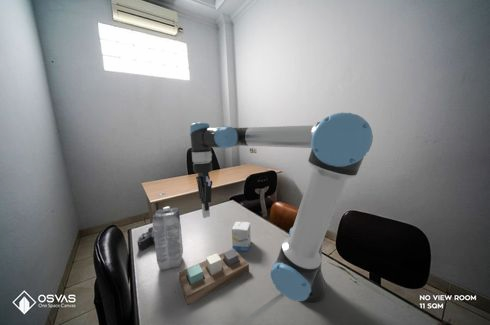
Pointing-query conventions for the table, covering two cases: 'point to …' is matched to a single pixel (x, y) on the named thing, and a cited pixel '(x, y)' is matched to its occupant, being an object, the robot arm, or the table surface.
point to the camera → (146, 239)
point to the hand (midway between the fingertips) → (206, 216)
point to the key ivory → (214, 264)
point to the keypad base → (212, 278)
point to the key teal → (195, 274)
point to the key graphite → (231, 258)
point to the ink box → (241, 236)
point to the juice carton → (168, 238)
